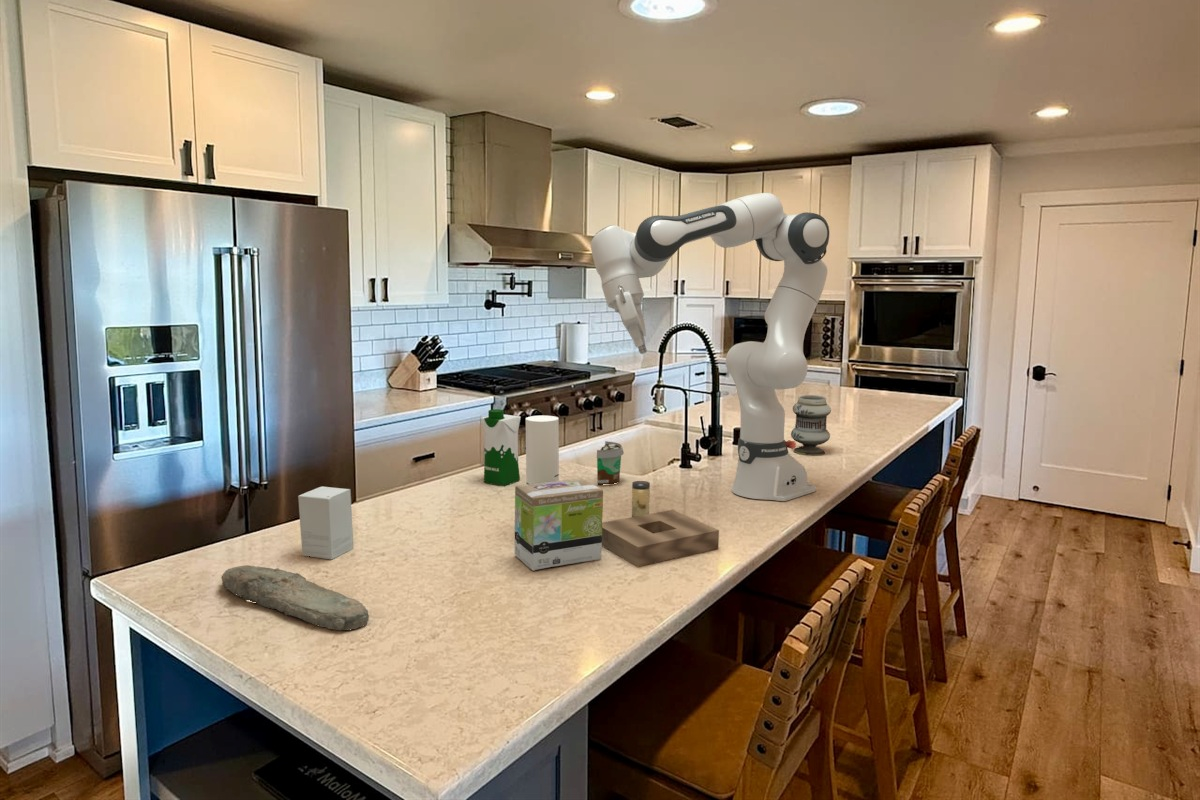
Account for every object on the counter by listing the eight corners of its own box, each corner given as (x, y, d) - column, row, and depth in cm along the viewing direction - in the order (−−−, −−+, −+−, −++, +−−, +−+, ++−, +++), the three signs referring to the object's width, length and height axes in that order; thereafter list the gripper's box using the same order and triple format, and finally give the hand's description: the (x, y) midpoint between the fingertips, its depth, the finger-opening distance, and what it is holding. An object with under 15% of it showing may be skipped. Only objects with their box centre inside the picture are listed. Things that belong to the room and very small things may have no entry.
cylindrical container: (564, 526, 170) (564, 417, 166) (549, 536, 163) (548, 422, 159) (536, 522, 173) (535, 414, 169) (520, 531, 166) (519, 419, 162)
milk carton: (478, 482, 205) (477, 410, 202) (500, 475, 213) (499, 405, 210) (504, 487, 201) (502, 413, 198) (525, 480, 208) (524, 408, 205)
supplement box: (355, 548, 156) (352, 488, 154) (331, 560, 149) (327, 498, 147) (325, 543, 158) (322, 485, 156) (300, 556, 151) (296, 494, 149)
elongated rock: (334, 651, 116) (384, 629, 125) (336, 618, 116) (385, 598, 124) (203, 589, 134) (254, 573, 143) (203, 560, 134) (255, 546, 142)
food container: (619, 488, 201) (619, 451, 199) (596, 487, 202) (596, 450, 200) (626, 476, 213) (627, 441, 211) (605, 475, 214) (605, 440, 212)
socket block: (672, 526, 170) (672, 509, 170) (718, 548, 157) (719, 530, 156) (595, 542, 160) (595, 523, 159) (637, 566, 147) (637, 547, 146)
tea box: (533, 573, 143) (532, 497, 141) (513, 555, 152) (513, 484, 150) (603, 560, 150) (603, 487, 148) (581, 544, 159) (581, 475, 157)
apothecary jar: (791, 455, 239) (794, 399, 236) (788, 447, 251) (791, 393, 248) (831, 457, 237) (834, 400, 234) (826, 448, 249) (829, 394, 246)
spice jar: (642, 517, 177) (643, 479, 175) (652, 522, 173) (653, 484, 172) (628, 520, 175) (628, 482, 173) (638, 524, 171) (638, 486, 170)
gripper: (631, 278, 166) (651, 337, 164) (641, 299, 186) (658, 352, 184) (604, 287, 166) (623, 346, 164) (616, 307, 187) (633, 360, 185)
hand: (641, 349), depth 174 cm, fingers open, 8 cm apart
